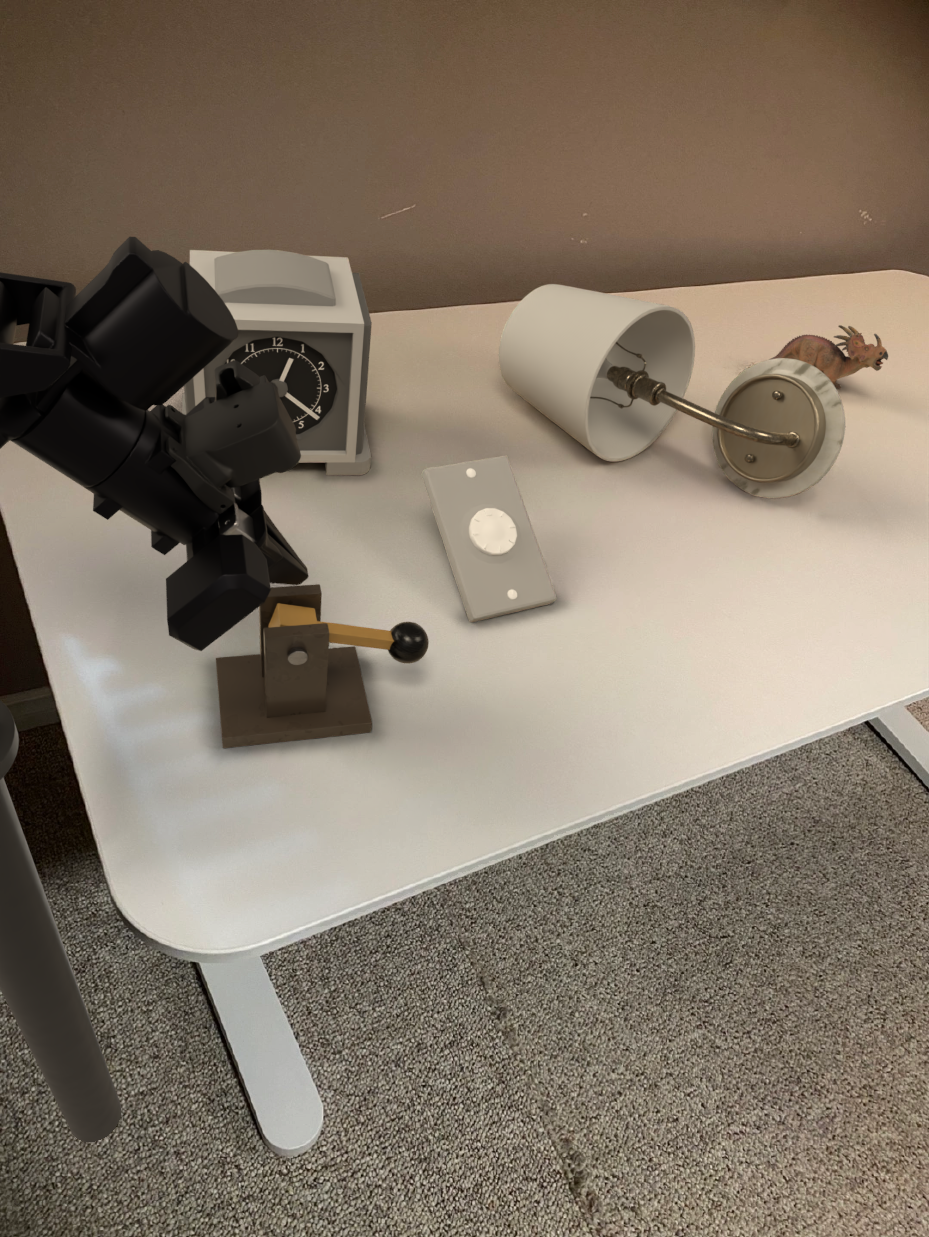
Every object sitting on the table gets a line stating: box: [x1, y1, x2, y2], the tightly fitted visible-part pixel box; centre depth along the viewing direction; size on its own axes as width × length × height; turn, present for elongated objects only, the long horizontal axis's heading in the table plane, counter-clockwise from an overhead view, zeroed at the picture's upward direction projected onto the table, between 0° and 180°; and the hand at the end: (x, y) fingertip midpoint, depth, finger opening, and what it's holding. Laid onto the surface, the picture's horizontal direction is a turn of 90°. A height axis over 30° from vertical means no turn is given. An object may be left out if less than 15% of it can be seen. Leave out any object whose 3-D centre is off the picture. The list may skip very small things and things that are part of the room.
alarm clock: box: [181, 249, 373, 476], centre depth 90 cm, size 18×13×18 cm
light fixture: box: [497, 283, 846, 500], centre depth 97 cm, size 17×19×34 cm
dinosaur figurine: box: [768, 324, 889, 389], centre depth 117 cm, size 14×6×9 cm, turn 75°
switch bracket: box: [215, 583, 373, 749], centre depth 69 cm, size 11×8×10 cm
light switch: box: [420, 455, 558, 623], centre depth 85 cm, size 8×6×14 cm
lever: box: [268, 603, 430, 665], centre depth 69 cm, size 12×3×3 cm, turn 104°
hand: (303, 577), depth 63 cm, fingers closed
